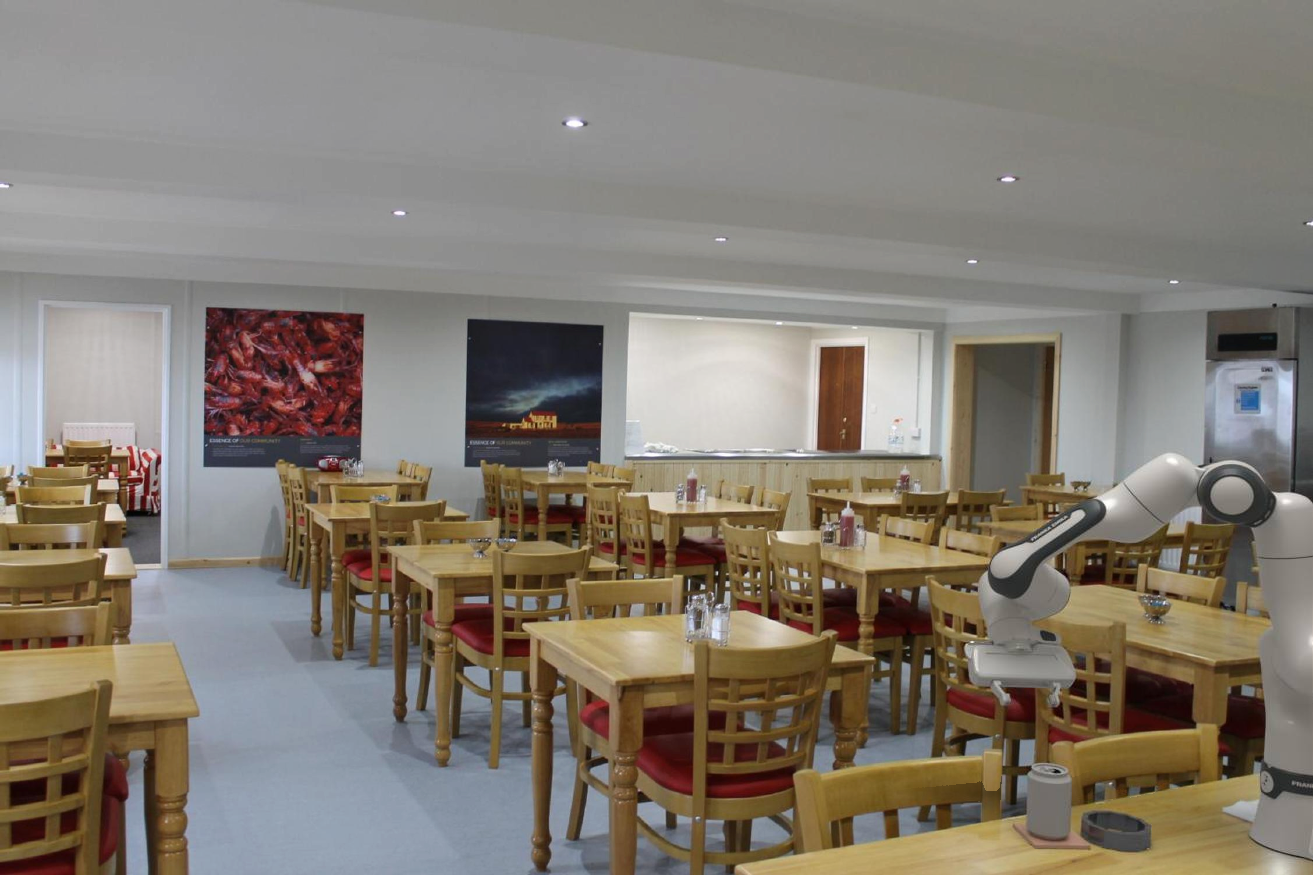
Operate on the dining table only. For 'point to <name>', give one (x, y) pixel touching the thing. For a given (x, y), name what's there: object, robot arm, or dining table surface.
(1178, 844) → the dining table surface
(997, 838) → the dining table surface
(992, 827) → the dining table surface
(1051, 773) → the can
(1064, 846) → the tile
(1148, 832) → the ring
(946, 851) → the dining table surface
